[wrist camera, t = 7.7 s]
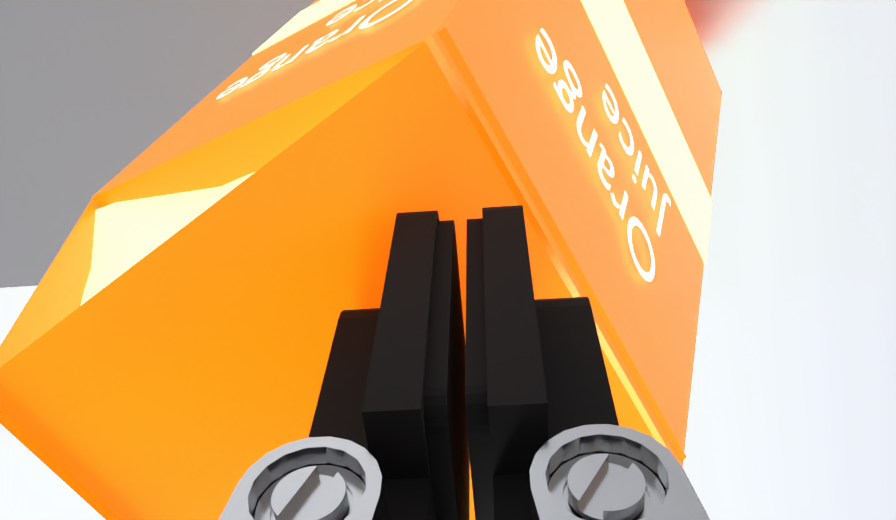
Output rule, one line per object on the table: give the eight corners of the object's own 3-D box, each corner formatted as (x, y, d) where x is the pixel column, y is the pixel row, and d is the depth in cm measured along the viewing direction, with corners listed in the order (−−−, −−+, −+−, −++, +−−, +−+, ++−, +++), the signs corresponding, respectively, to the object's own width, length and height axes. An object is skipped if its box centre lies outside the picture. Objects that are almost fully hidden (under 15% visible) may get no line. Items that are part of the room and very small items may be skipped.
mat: (342, -320, 21) (340, -322, 21) (414, 256, 30) (413, 261, 30) (-412, -236, 23) (-425, -236, 23) (-130, 290, 32) (-136, 295, 32)
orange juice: (611, -195, 21) (213, 312, 6) (727, 93, 24) (657, 835, 10) (379, -61, 25) (-192, 433, 10) (509, 167, 29) (231, 767, 14)
